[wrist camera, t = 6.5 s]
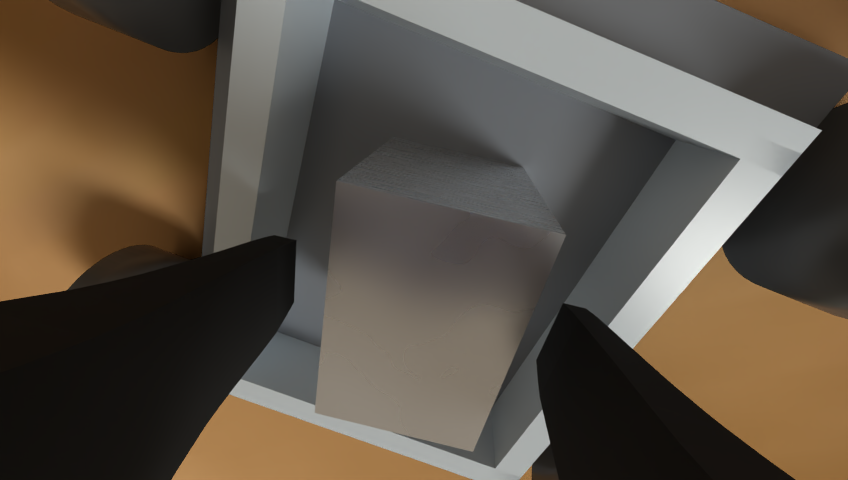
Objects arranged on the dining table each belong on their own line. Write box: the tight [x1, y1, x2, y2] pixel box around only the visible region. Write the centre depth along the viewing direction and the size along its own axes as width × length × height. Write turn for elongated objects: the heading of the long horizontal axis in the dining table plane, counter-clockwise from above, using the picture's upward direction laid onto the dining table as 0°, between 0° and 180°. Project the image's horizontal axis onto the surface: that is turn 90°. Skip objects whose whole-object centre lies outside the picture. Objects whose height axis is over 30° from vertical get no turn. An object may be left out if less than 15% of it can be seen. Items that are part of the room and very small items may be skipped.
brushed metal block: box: [315, 137, 566, 452], centre depth 9 cm, size 4×6×5 cm, turn 168°
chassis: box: [49, 0, 848, 480], centre depth 11 cm, size 20×18×5 cm
